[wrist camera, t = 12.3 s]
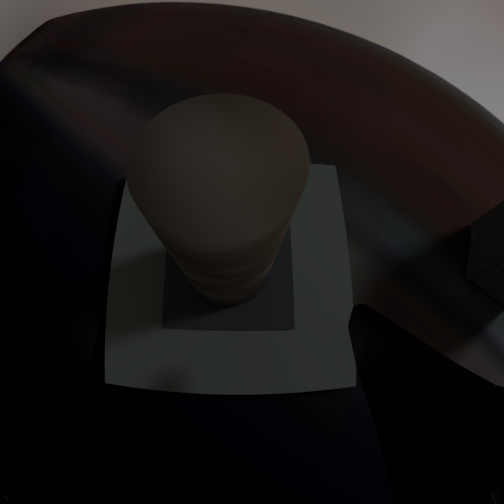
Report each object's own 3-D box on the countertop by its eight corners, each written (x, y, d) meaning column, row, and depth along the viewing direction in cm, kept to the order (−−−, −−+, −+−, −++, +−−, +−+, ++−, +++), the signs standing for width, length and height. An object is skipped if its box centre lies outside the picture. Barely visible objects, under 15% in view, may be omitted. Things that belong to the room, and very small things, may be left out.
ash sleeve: (206, 320, 16) (154, 276, 6) (175, 246, 18) (112, 128, 7) (283, 285, 17) (347, 195, 7) (247, 216, 19) (259, 78, 8)
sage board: (347, 383, 17) (357, 386, 15) (114, 380, 16) (103, 383, 15) (329, 176, 22) (335, 164, 20) (135, 175, 21) (129, 163, 20)
